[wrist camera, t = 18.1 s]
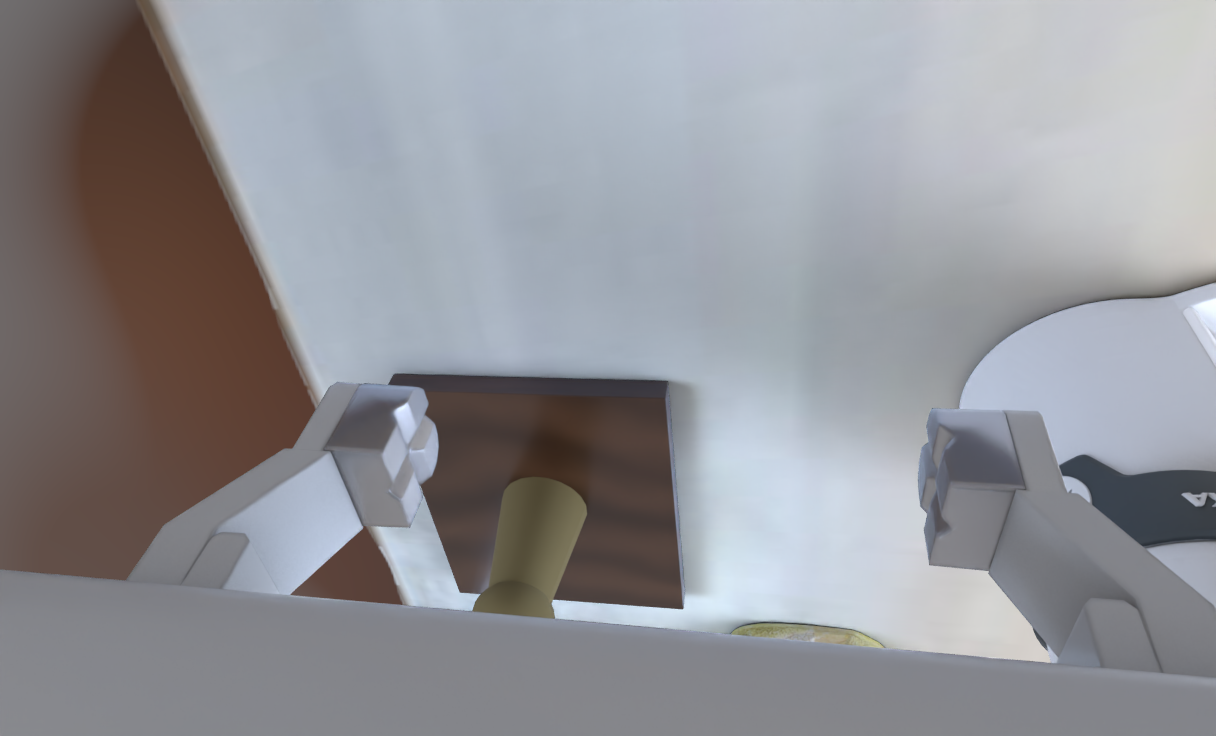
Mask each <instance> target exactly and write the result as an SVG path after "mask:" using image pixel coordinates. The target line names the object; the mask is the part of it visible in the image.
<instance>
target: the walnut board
mask: <svg viewBox="0 0 1216 736" xmlns="http://www.w3.org/2000/svg"><path fill="white" fill-rule="evenodd" d="M388 385H398V386H413V387H419V388H421V389H424V392H425V395H426V398H427V400H428V403H429V405H428V407H427V409H426V411H425V415H426V416H427V417H428V418H429V419H430V420H432V421H433V422H434V423H435V426H436V430H437V433H438V442H439V450H438V457H437V464H436V466H435V469H434V471H433V474H432V477H430V478H429V479H428V480H426V481H425V482H424V483H422V484H421V485H420V486H421V488H422V491H423V494H424V496H425V499H426V502H427V505H428V507H429V510H430V513H431V515H432V518H433V521H434V524H435V526H436V529H437V532H438V534H439V537H440V540H441V543H442V545H443V548H444V551H445V553H446V556H447V559H448V562H449V564H450V567H451V570H452V572H453V575H454V578H455V581H456V583H457V586H458V589H459V591H460V592H461V593H473V594H482V593H483V592H484V591H485V590H486V589H487V588H488V587H489V580H490V574H491V568H492V561H493V555H494V548H495V542H496V535H497V529H498V523H499V516H500V510H501V503H502V497H503V494H504V490H505V489H506V488H507V487H508V486H509V485H510V484H511V483H512V482H514V481H517V480H519V479H521V478H528V477H543V478H549V479H552V480H556V481H559V482H561V483H563V484H565V485H567V486H569V487H571V488H572V489H573V490H575V491H576V492H577V493H578V494H579V495H580V496H581V497H582V499H583V501H584V502H585V504H586V509H587V516H586V518H585V521H584V523H583V526H582V528H581V531H580V533H579V536H578V538H577V541H576V543H575V546H574V548H573V551H572V553H571V556H570V558H569V561H568V563H567V566H566V568H565V571H564V573H563V576H562V578H561V581H560V583H559V586H558V588H557V591H556V593H555V596H554V598H553V600H566V601H579V602H593V603H606V604H619V605H633V606H646V607H659V608H672V609H683V608H684V598H685V585H684V572H683V560H682V548H681V535H680V523H679V511H678V498H677V486H676V473H675V461H674V449H673V436H672V424H671V412H670V399H669V387H668V381H638V380H599V379H560V378H521V377H482V376H443V375H404V374H394V375H393V376H392V378H391V380H390V382H389V384H388Z"/></svg>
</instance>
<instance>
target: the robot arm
mask: <svg viewBox="0 0 1216 736" xmlns="http://www.w3.org/2000/svg"><path fill="white" fill-rule="evenodd" d="M428 405H429V403H428V400H427V398H426V395H425V392H424V389H421V388H419V387H413V386H398V385H383V384H368V383H364V384H357V383H344V382H336V383H335V384H333V385H332V386H330V387H329V388H328V390H327V392H326V394H325V395H324V397H323V399H322V400H321V402H320V404H319V405H318V407H317V409H316V410H315V412H314V414H313V415H312V417H311V419H310V420H309V422H308V424H307V425H306V427H305V429H304V431H303V432H302V434H301V435H300V437H299V439H298V440H297V442H296V444H295V445H294V447H293V449H283V450H282V451H280V452H278V453H277V454H275V455H274V456H272V457H271V458H269V459H267V460H266V461H264V462H262V463H261V464H259V465H258V466H256V467H255V468H253V469H252V470H250V471H249V472H247V473H245V474H244V475H242V476H240V477H239V478H237V479H236V480H234V481H233V482H231V483H230V484H228V485H226V486H225V487H223V488H221V489H220V490H218V491H217V492H215V493H214V494H212V495H210V496H209V497H207V498H206V499H204V500H203V501H201V502H199V503H198V504H196V505H195V506H193V507H192V508H190V509H188V510H187V511H185V512H184V513H182V514H181V515H179V516H177V517H176V518H174V519H173V520H171V521H169V522H168V523H166V524H165V525H164V526H163V527H162V529H161V530H160V532H159V533H158V535H157V536H156V537H155V539H154V540H153V542H152V543H151V545H150V546H149V548H148V549H147V550H146V552H145V553H144V555H143V556H142V558H141V559H140V561H139V562H138V563H137V565H136V566H135V568H134V569H133V571H132V572H131V574H130V575H129V577H128V578H127V579H126V581H123V580H111V579H101V578H89V577H79V576H67V575H55V574H45V573H34V572H22V571H10V570H0V736H1216V283H1212V284H1208V285H1204V286H1201V287H1197V288H1194V289H1191V290H1187V291H1184V292H1181V293H1178V294H1175V295H1172V296H1167V297H1159V298H1138V299H1116V300H1107V301H1099V302H1094V303H1088V304H1084V305H1079V306H1075V307H1072V308H1068V309H1065V310H1062V311H1059V312H1056V313H1053V314H1051V315H1048V316H1046V317H1043V318H1041V319H1039V320H1037V321H1034V322H1032V323H1030V324H1029V325H1027V326H1025V327H1023V328H1021V329H1020V330H1018V331H1016V332H1015V333H1013V334H1012V335H1010V336H1009V337H1007V338H1006V339H1004V340H1003V341H1002V342H1000V343H999V344H998V345H997V346H996V347H994V348H993V349H992V350H991V351H990V352H989V353H988V354H987V355H986V356H985V357H984V358H983V359H982V360H981V361H980V363H979V364H978V365H977V366H976V368H975V369H974V370H973V372H972V374H971V375H970V377H969V379H968V380H967V382H966V385H965V387H964V389H963V392H962V395H961V399H960V405H959V409H947V408H932V409H931V411H930V414H929V417H928V421H927V426H926V428H927V434H928V441H929V442H928V443H927V444H925V445H924V446H923V447H922V449H921V455H920V460H919V471H918V490H919V499H920V507H921V508H922V509H923V510H924V511H925V512H926V513H927V518H926V523H925V527H924V534H925V540H926V546H927V552H928V559H929V565H933V566H943V567H954V568H964V569H974V570H985V571H989V573H988V574H989V575H990V576H991V577H992V578H993V580H994V581H995V582H996V583H997V585H998V586H999V587H1000V588H1001V589H1002V591H1003V592H1004V593H1005V594H1006V595H1007V597H1008V598H1009V599H1010V600H1011V601H1012V603H1013V604H1014V605H1015V606H1016V607H1017V609H1018V610H1019V611H1020V612H1021V613H1022V615H1023V616H1024V617H1025V618H1026V619H1027V621H1028V622H1029V623H1030V624H1031V625H1032V627H1033V630H1034V633H1035V635H1036V637H1037V639H1038V640H1039V642H1040V643H1041V645H1042V646H1043V647H1044V648H1045V649H1046V650H1047V651H1048V653H1049V657H1050V661H1051V663H1045V662H1034V661H1023V660H1011V659H1000V658H989V657H978V656H966V655H955V654H944V653H933V652H921V651H910V650H899V649H888V648H877V647H866V646H854V645H843V644H832V643H821V642H810V641H798V640H787V639H776V638H765V637H753V636H742V635H731V634H720V633H709V632H697V631H686V630H675V629H664V628H653V627H641V626H630V625H619V624H608V623H596V622H585V621H574V620H563V619H551V618H540V617H529V616H518V615H506V614H495V613H484V612H473V611H461V610H450V609H439V608H428V607H416V606H405V605H393V604H383V603H371V602H360V601H349V600H338V599H326V598H315V597H304V596H292V595H290V594H291V593H292V592H293V591H294V590H295V589H296V588H298V587H299V586H300V585H301V584H302V583H303V582H304V581H305V580H306V579H308V578H309V577H310V576H311V575H312V574H313V573H314V572H315V571H316V570H317V569H319V568H320V567H321V566H322V565H323V564H324V563H325V562H326V561H327V560H329V559H330V558H331V557H332V556H333V555H334V554H335V553H336V552H337V551H338V550H340V549H341V548H342V547H343V546H344V545H345V544H346V543H347V542H348V541H349V540H350V539H352V538H353V537H354V536H355V535H356V534H357V533H358V532H359V531H360V530H362V529H363V526H384V527H406V528H410V527H411V525H412V522H413V520H414V518H415V515H416V513H417V510H418V508H419V506H420V503H421V501H422V498H423V495H422V492H421V489H420V485H421V484H422V483H424V482H425V481H426V480H428V479H429V478H430V477H432V474H433V471H434V469H435V466H436V464H437V457H438V450H439V442H438V433H437V430H436V426H435V423H434V422H433V421H432V420H430V419H429V418H428V417H427V416H426V415H425V411H426V409H427V407H428Z"/></svg>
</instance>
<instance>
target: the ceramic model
mask: <svg viewBox="0 0 1216 736" xmlns="http://www.w3.org/2000/svg"><path fill="white" fill-rule="evenodd" d="M731 635H742V636H753V637H765V638H776V639H787V640H798V641H810V642H821V643H832V644H843V645H854V646H866V647H877V648H884V647H883V646H882V645H881V644H880V643H879V642H877V641H874V640H873V639H871V638H870V637H868V636H865V635H863V634H862V633H860V632H856V631H854V630H848V629H839V628H829V627H821V626H809V625H799V624H785V623H780V624H779V623H772V624H769V623H763V624H760V623H759V624H752V625H746V626H742V627H739V628H737V629H735V630H734V631H733V632H732V634H731Z"/></svg>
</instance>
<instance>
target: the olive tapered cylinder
mask: <svg viewBox="0 0 1216 736" xmlns="http://www.w3.org/2000/svg"><path fill="white" fill-rule="evenodd" d="M586 516H587V509H586V504H585V502H584V501H583V499H582V497H581V496H580V495H579V494H578V493H577V492H576V491H575V490H573V489H572V488H571V487H569V486H567V485H565V484H563V483H561V482H559V481H556V480H552V479H549V478H543V477H528V478H521V479H519V480H517V481H514V482H512V483H511V484H510V485H509V486H508V487H507V488H506V489H505V490H504V494H503V497H502V503H501V510H500V516H499V523H498V529H497V535H496V542H495V548H494V555H493V561H492V568H491V574H490V580H489V587H488V588H487V589H486V590H485V591H484V592H483V593H482V594H481V595H480V596H479V597H478V599H477V600H476V602H475V605H474V607H473V610H472V611H473V612H484V613H495V614H506V615H518V616H529V617H540V618H551V619H555V615H554V610H553V607H552V605H551V603H552V601H553V598H554V596H555V593H556V591H557V588H558V586H559V583H560V581H561V578H562V576H563V573H564V571H565V568H566V566H567V563H568V561H569V558H570V556H571V553H572V551H573V548H574V546H575V543H576V541H577V538H578V536H579V533H580V531H581V528H582V526H583V523H584V521H585V518H586Z"/></svg>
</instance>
